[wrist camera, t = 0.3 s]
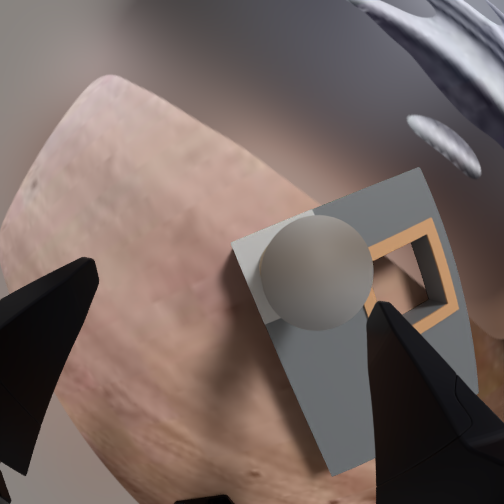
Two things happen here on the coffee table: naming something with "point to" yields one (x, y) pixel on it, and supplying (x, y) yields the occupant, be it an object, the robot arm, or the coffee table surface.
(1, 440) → the robot arm
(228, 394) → the coffee table surface
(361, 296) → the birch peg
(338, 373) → the gray peg hole board
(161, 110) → the coffee table surface
